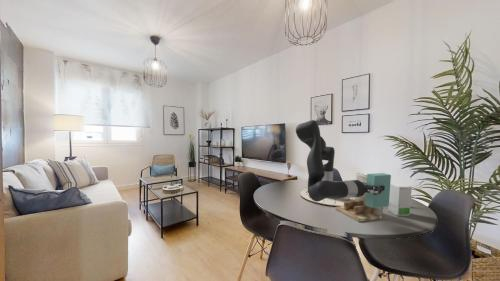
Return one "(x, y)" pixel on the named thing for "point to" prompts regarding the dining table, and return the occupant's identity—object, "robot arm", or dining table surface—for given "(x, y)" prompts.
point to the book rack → (360, 206)
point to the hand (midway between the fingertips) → (379, 186)
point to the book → (383, 197)
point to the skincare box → (400, 199)
